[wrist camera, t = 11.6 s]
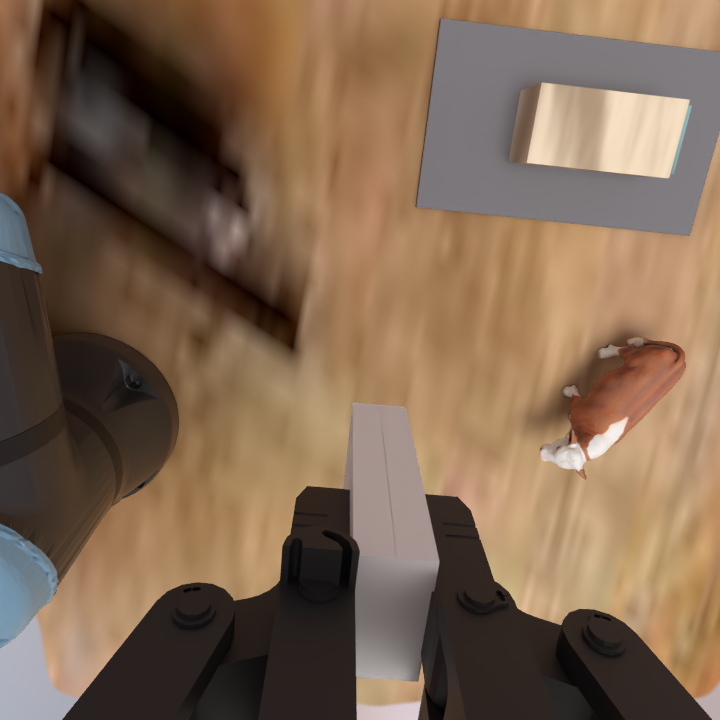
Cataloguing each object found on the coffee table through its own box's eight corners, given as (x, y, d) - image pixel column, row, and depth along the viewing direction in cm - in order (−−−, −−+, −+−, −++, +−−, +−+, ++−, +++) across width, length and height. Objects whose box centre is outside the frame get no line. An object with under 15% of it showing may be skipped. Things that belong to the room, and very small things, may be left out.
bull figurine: (512, 419, 52) (540, 464, 44) (633, 314, 49) (686, 344, 41) (544, 449, 53) (576, 499, 45) (664, 348, 50) (721, 383, 42)
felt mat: (415, 206, 46) (416, 207, 45) (440, 19, 42) (441, 18, 41) (687, 235, 47) (689, 235, 46) (737, 55, 43) (741, 54, 42)
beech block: (526, 162, 40) (674, 179, 40) (541, 82, 38) (695, 100, 38) (508, 162, 44) (640, 176, 45) (520, 90, 43) (658, 106, 43)
